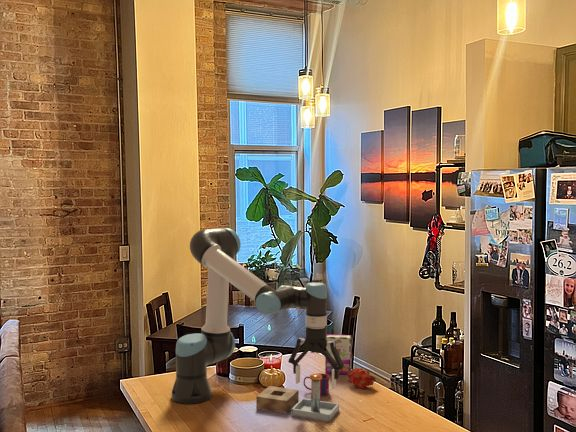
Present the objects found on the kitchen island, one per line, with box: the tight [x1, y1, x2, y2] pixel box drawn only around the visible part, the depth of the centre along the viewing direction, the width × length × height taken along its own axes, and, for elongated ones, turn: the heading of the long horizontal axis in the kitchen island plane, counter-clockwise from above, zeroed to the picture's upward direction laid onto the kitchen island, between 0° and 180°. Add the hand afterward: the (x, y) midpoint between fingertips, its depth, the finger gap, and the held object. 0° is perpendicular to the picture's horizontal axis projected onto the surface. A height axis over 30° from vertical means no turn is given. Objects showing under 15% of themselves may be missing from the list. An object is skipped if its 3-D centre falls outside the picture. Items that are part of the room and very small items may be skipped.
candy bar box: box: [324, 334, 352, 376], centre depth 252 cm, size 11×5×16 cm, turn 81°
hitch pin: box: [309, 373, 322, 413], centre depth 207 cm, size 4×4×13 cm
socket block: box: [255, 385, 300, 414], centre depth 215 cm, size 12×12×4 cm
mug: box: [303, 373, 330, 397], centre depth 228 cm, size 7×10×7 cm
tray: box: [290, 398, 340, 423], centre depth 207 cm, size 14×11×2 cm
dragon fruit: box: [346, 367, 377, 390], centre depth 234 cm, size 8×8×12 cm
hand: (315, 385), depth 207 cm, fingers open, 13 cm apart
